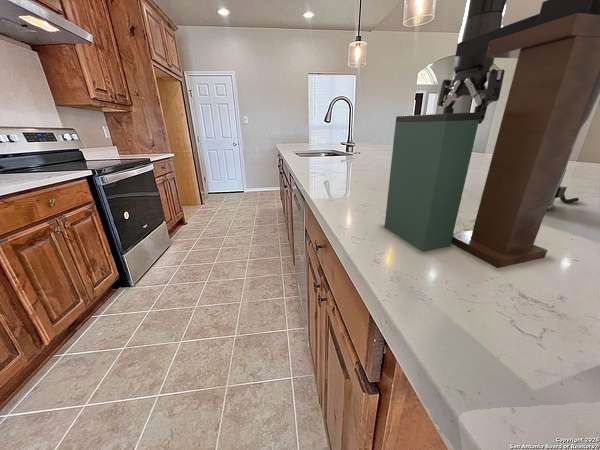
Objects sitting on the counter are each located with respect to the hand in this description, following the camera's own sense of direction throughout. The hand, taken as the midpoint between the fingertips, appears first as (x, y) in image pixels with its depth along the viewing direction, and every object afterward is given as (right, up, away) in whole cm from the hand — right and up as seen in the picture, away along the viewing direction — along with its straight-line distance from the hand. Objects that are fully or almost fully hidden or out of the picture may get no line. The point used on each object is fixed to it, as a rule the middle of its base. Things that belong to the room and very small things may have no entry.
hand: (460, 124), depth 60 cm
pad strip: (-8, +2, -24) cm, 25 cm away
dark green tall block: (-16, -27, -10) cm, 33 cm away
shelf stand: (-5, -29, -15) cm, 33 cm away
